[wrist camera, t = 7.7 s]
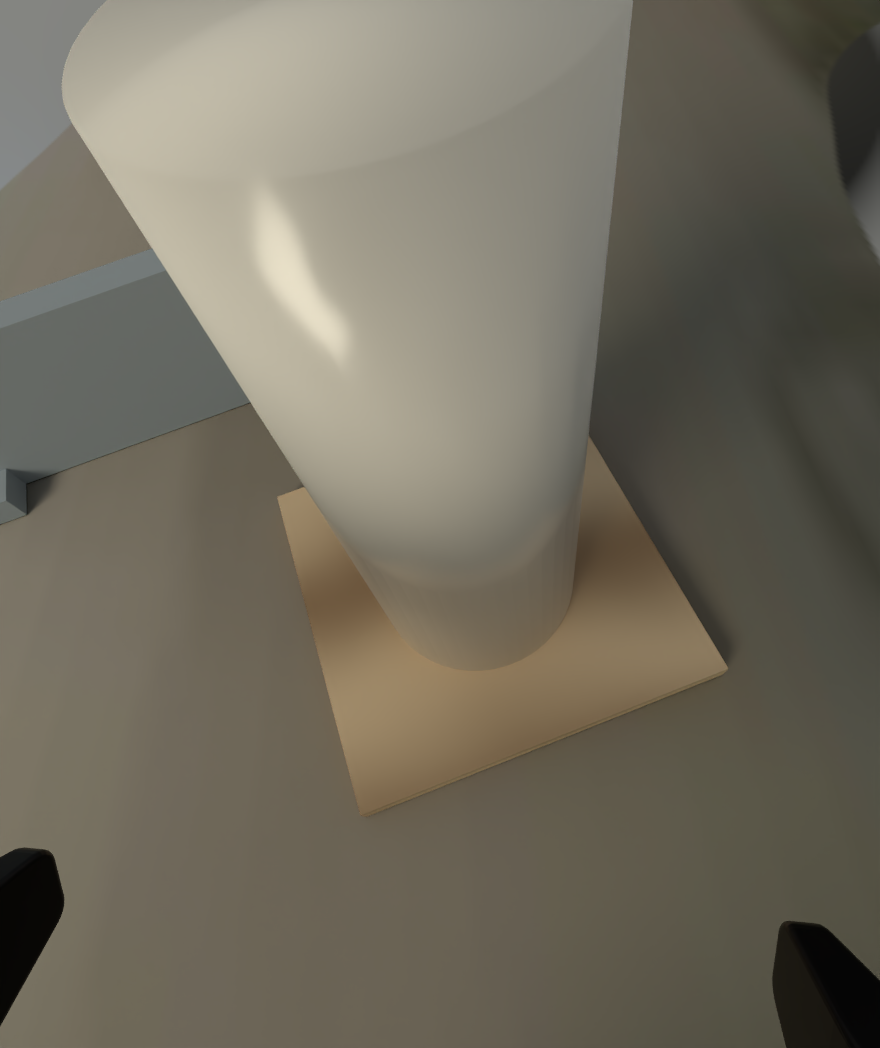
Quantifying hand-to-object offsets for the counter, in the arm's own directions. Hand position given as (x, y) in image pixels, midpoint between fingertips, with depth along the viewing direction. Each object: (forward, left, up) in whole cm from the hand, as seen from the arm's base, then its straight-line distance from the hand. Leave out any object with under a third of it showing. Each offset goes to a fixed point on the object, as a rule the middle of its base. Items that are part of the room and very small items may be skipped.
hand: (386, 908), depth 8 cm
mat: (+7, -3, -9) cm, 12 cm away
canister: (+7, -3, -8) cm, 11 cm away
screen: (+18, +6, -9) cm, 21 cm away
